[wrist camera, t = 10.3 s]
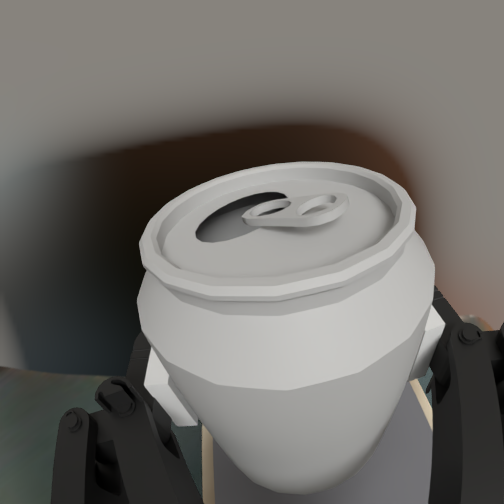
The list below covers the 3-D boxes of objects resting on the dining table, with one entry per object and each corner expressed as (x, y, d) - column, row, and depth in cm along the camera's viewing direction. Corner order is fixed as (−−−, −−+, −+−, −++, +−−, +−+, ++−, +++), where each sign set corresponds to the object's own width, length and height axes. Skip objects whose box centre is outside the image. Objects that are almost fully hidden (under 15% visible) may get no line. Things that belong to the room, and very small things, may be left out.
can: (285, 353, 17) (249, 147, 11) (401, 400, 13) (457, 165, 7) (200, 445, 13) (65, 242, 7) (325, 524, 8) (373, 421, 2)
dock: (224, 569, 12) (204, 573, 10) (215, 401, 28) (201, 374, 25) (448, 514, 12) (474, 504, 9) (387, 364, 27) (395, 333, 25)
